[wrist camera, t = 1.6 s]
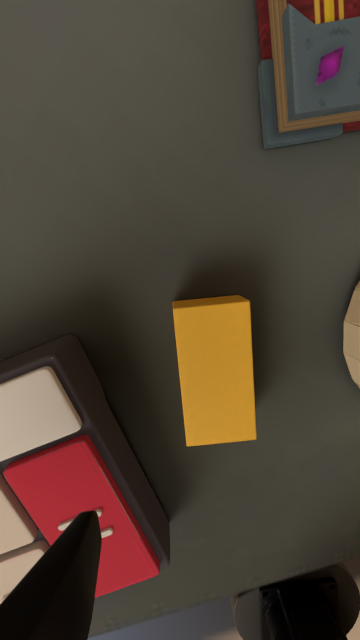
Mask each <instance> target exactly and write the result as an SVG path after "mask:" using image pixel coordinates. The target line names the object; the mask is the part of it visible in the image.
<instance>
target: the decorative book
mask: <svg viewBox="0 0 360 640" xmlns="http://www.w3.org/2000/svg"><path fill="white" fill-rule="evenodd" d="M256 8H257V20H258V32H259V44H260V56H261V62H260V64H259V67H258V80H259V93H260V106H261V119H262V131H263V144H264V149H270V148H276V147H282V146H288V145H294V144H300V143H306V142H313V141H319V140H325V139H331V138H336V137H338V136H339V135H341V134H342V133H344V132H350V131H356V130H360V0H256Z"/></svg>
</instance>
